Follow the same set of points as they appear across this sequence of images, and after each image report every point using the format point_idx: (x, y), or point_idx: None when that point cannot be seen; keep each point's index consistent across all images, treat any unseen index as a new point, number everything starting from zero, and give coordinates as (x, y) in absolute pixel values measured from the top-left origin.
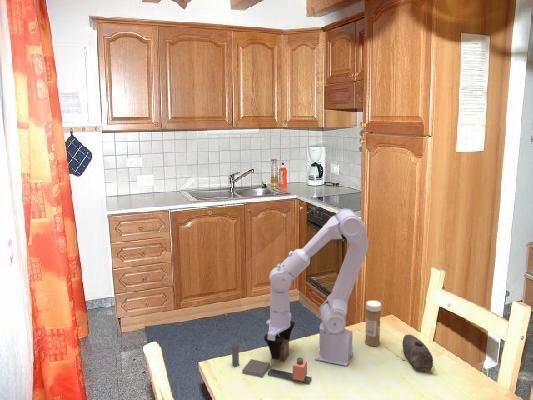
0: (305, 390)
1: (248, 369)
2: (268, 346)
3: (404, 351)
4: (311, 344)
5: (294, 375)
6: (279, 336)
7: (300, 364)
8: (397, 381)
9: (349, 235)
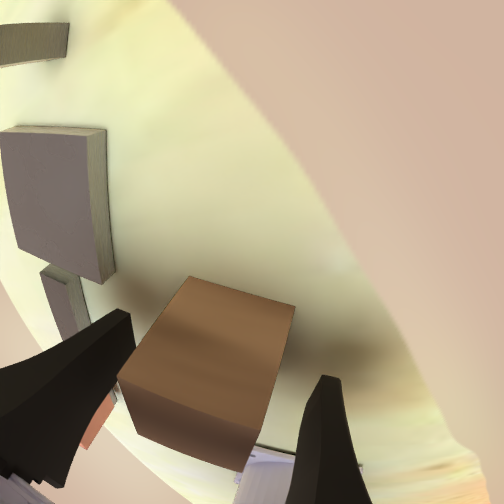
0: None
1: (10, 165)
2: (28, 359)
3: None
4: (399, 444)
5: None
6: (322, 441)
7: None
8: (208, 497)
9: None
